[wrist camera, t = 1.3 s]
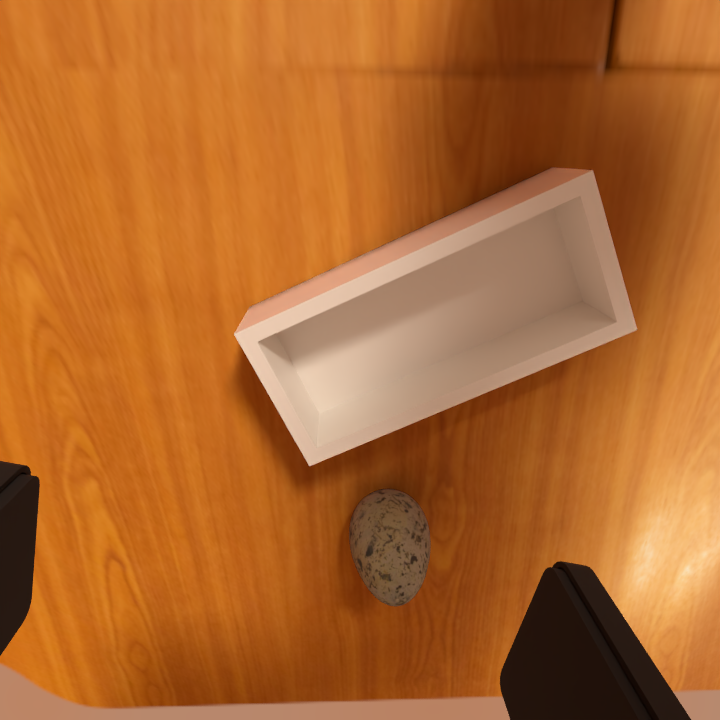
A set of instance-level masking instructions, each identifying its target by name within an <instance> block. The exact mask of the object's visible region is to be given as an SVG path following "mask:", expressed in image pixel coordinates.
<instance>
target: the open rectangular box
mask: <svg viewBox="0 0 720 720" xmlns="http://www.w3.org/2000/svg"><path fill="white" fill-rule="evenodd" d="M636 330H637V327H636V323H635V320H634V316H633V313H632V309H631V305H630V302H629V298H628V295H627V291H626V287H625V284H624V280H623V277H622V273H621V269H620V266H619V262H618V259H617V255H616V251H615V248H614V244H613V241H612V237H611V233H610V230H609V226H608V223H607V219H606V215H605V212H604V208H603V205H602V201H601V197H600V194H599V190H598V187H597V183H596V179H595V176H594V172H593V170H584V169H570V168H555V167H552V168H550V169H548V170H546V171H543V172H541V173H539V174H537V175H535V176H533V177H530V178H528V179H526V180H524V181H522V182H520V183H517V184H515V185H513V186H511V187H509V188H507V189H504V190H502V191H500V192H498V193H496V194H494V195H491V196H489V197H487V198H485V199H483V200H481V201H478V202H476V203H474V204H472V205H470V206H468V207H465V208H463V209H461V210H459V211H457V212H455V213H452V214H450V215H448V216H446V217H444V218H442V219H439V220H437V221H435V222H433V223H431V224H429V225H426V226H424V227H422V228H420V229H418V230H416V231H413V232H411V233H409V234H407V235H405V236H403V237H400V238H398V239H396V240H394V241H392V242H390V243H387V244H385V245H383V246H381V247H379V248H377V249H374V250H372V251H370V252H368V253H366V254H364V255H361V256H359V257H357V258H355V259H353V260H351V261H348V262H346V263H344V264H342V265H340V266H338V267H335V268H333V269H331V270H329V271H327V272H325V273H322V274H320V275H318V276H316V277H314V278H312V279H309V280H307V281H305V282H303V283H301V284H299V285H296V286H294V287H292V288H290V289H288V290H286V291H283V292H281V293H279V294H277V295H275V296H273V297H270V298H268V299H266V300H264V301H262V302H260V303H257V304H255V305H253V306H251V307H250V308H249V309H248V311H247V313H246V314H245V316H244V318H243V319H242V321H241V323H240V325H239V326H238V328H237V330H236V331H235V333H234V335H235V337H236V339H237V340H238V342H239V344H240V346H241V347H242V349H243V351H244V353H245V354H246V356H247V358H248V360H249V361H250V363H251V365H252V367H253V368H254V370H255V372H256V374H257V375H258V377H259V379H260V381H261V382H262V384H263V386H264V388H265V389H266V391H267V393H268V395H269V396H270V398H271V400H272V402H273V403H274V405H275V407H276V409H277V410H278V412H279V414H280V416H281V417H282V419H283V421H284V423H285V424H286V426H287V428H288V430H289V431H290V433H291V435H292V437H293V438H294V440H295V442H296V444H297V445H298V447H299V449H300V451H301V452H302V454H303V456H304V458H305V459H306V461H307V463H308V465H309V466H311V465H314V464H316V463H319V462H321V461H323V460H326V459H328V458H331V457H333V456H335V455H338V454H340V453H343V452H345V451H347V450H350V449H352V448H355V447H357V446H359V445H362V444H364V443H367V442H369V441H371V440H374V439H376V438H379V437H381V436H384V435H386V434H388V433H391V432H393V431H396V430H398V429H400V428H403V427H405V426H408V425H410V424H412V423H415V422H417V421H420V420H422V419H424V418H427V417H429V416H432V415H434V414H436V413H439V412H441V411H444V410H446V409H448V408H451V407H453V406H456V405H458V404H460V403H463V402H465V401H468V400H470V399H472V398H475V397H477V396H480V395H482V394H484V393H487V392H489V391H492V390H494V389H497V388H499V387H501V386H504V385H506V384H509V383H511V382H513V381H516V380H518V379H521V378H523V377H525V376H528V375H530V374H533V373H535V372H537V371H540V370H542V369H545V368H547V367H549V366H552V365H554V364H557V363H559V362H561V361H564V360H566V359H569V358H571V357H573V356H576V355H578V354H581V353H583V352H585V351H588V350H590V349H593V348H595V347H597V346H600V345H602V344H605V343H607V342H610V341H612V340H614V339H617V338H619V337H622V336H624V335H626V334H629V333H631V332H634V331H636Z"/></svg>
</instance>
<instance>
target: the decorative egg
mask: <svg viewBox="0 0 720 720" xmlns="http://www.w3.org/2000/svg"><path fill="white" fill-rule="evenodd" d="M349 542H350V549H351V553H352V557H353V560H354V563H355V566H356V568H357V570H358V572H359V574H360V576H361V578H362V580H363V582H364V583H365V585H366V586H367V588H368V589H369V590H370V592H371V593H372V594H373V595H374V596H375V597H376V598H377V599H378V600H380V601H381V602H383V603H385V604H387V605H390V606H401V605H404V604H406V603H407V602H409V601H410V600H411V599H412V598H413V597H414V596H415V595H416V594H417V592H418V591H419V589H420V588H421V586H422V583H423V581H424V579H425V576H426V572H427V568H428V563H429V557H430V545H431V544H430V531H429V526H428V522H427V519H426V517H425V514H424V512H423V511H422V509H421V507H420V506H419V505H418V503H417V502H416V501H415V500H414V499H413V498H412V497H410V496H409V495H407V494H406V493H404V492H401V491H399V490H395V489H381V490H377V491H374V492H372V493H370V494H369V495H367V496H366V497H365V498H363V499H362V500H361V501H360V503H359V504H358V505H357V507H356V509H355V510H354V513H353V515H352V518H351V522H350V527H349Z"/></svg>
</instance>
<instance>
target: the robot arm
mask: <svg viewBox="0 0 720 720" xmlns="http://www.w3.org/2000/svg"><path fill="white" fill-rule="evenodd" d="M39 485H40V484H39V478H38V477H37V476H31V471H30V469H29V467H28V466H25V465H20V464H14V463H8V462H3V461H0V655H1V654H2V652H3V651H4V650H5V648H6V647H7V645H8V644H9V642H10V641H11V639H12V638H13V636H14V635H15V633H16V632H17V631H18V629H19V628H20V626H21V625H22V623H23V621H24V620H25V618H26V616H27V613H28V611H29V608H30V604H31V599H32V585H33V571H34V556H35V542H36V528H37V514H38V500H39ZM500 687H501V692H502V695H503V698H504V701H505V704H506V708H507V711H508V714H509V716H510V720H691V719H690V717H689V716H688V714H687V713H686V711H685V710H684V708H683V707H682V705H681V704H680V702H679V701H678V699H677V698H676V696H675V694H674V693H673V691H672V690H671V688H670V687H669V685H668V684H667V682H666V681H665V679H664V678H663V676H662V675H661V673H660V672H659V670H658V669H657V667H656V666H655V664H654V663H653V661H652V660H651V658H650V657H649V655H648V653H647V652H646V650H645V649H644V647H643V646H642V644H641V643H640V641H639V640H638V638H637V637H636V635H635V634H634V632H633V631H632V629H631V628H630V626H629V625H628V623H627V622H626V620H625V619H624V617H623V616H622V614H621V613H620V611H619V609H618V608H617V606H616V605H615V603H614V602H613V600H612V599H611V597H610V596H609V594H608V593H607V591H606V590H605V588H604V587H603V585H602V584H601V582H600V581H599V579H598V578H597V576H596V575H595V573H594V572H593V570H592V569H591V568H590V567H588V566H584V565H579V564H573V563H567V562H562V561H560V562H556V563H555V564H554V565H553V567H552V568H551V567H549V568H547V569H546V570H545V571H544V573H543V575H542V577H541V580H540V582H539V584H538V587H537V589H536V591H535V594H534V596H533V598H532V601H531V603H530V605H529V608H528V610H527V612H526V615H525V617H524V619H523V621H522V624H521V626H520V628H519V631H518V633H517V635H516V638H515V640H514V642H513V645H512V647H511V649H510V652H509V654H508V656H507V659H506V661H505V663H504V666H503V668H502V671H501V676H500Z"/></svg>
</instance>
